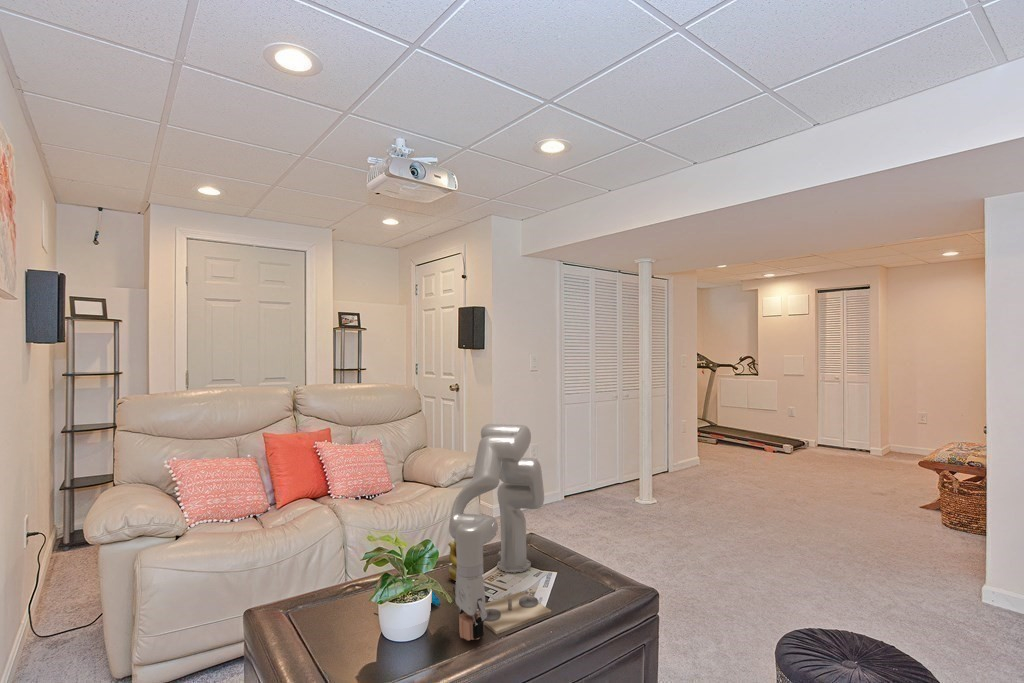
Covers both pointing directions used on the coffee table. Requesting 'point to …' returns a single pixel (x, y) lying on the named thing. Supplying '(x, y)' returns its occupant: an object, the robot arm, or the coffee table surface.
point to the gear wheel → (466, 626)
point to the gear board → (513, 612)
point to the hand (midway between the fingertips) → (471, 630)
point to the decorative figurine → (453, 560)
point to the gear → (435, 599)
